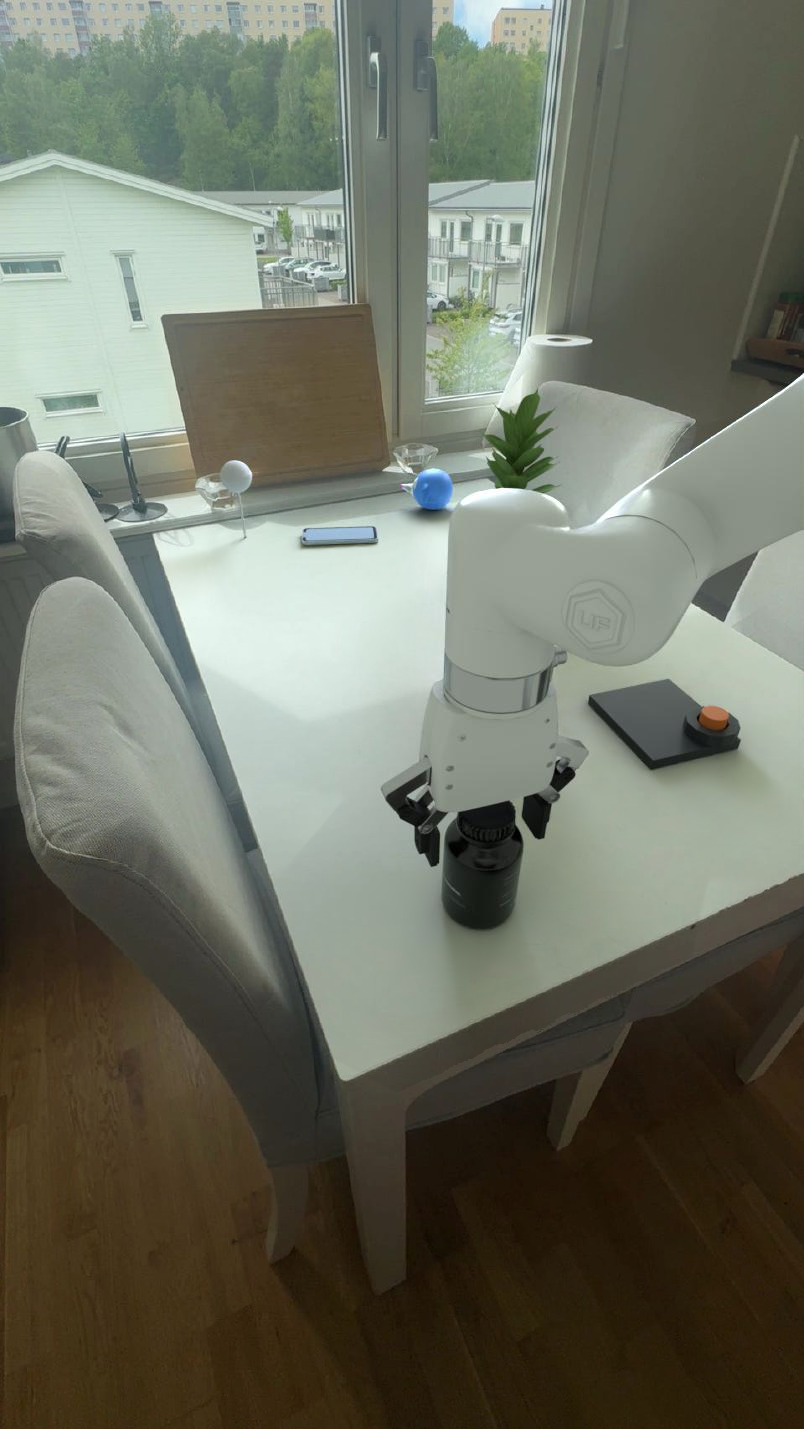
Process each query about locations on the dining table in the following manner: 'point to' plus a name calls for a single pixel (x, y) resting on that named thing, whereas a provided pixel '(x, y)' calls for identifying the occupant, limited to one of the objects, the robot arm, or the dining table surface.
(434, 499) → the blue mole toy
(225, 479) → the lollipop
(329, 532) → the smartphone
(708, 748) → the scale
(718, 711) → the button
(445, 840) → the supplement bottle
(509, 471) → the potted plant
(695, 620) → the dining table surface
